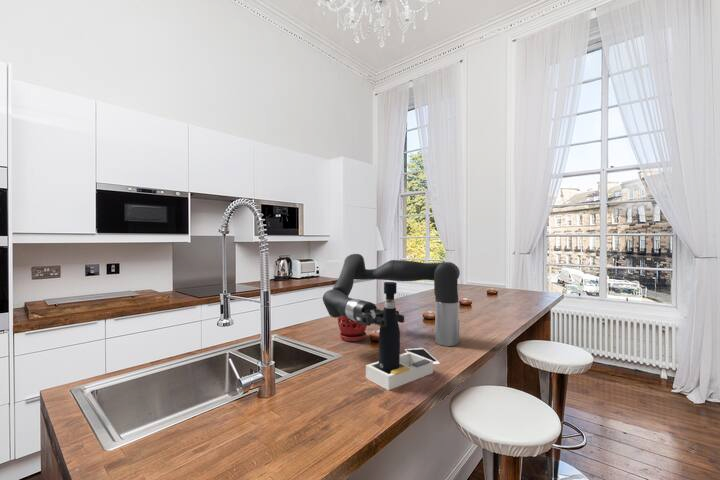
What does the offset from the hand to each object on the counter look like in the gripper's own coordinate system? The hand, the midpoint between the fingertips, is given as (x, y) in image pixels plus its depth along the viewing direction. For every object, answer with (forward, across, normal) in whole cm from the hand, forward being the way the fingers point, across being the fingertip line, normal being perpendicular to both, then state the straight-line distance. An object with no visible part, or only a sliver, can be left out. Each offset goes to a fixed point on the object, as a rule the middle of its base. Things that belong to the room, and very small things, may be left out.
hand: (394, 321), depth 101 cm
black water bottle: (-2, 0, -19) cm, 19 cm away
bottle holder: (-2, -5, -18) cm, 19 cm away
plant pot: (-42, -16, -19) cm, 49 cm away
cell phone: (-9, -23, -19) cm, 31 cm away
